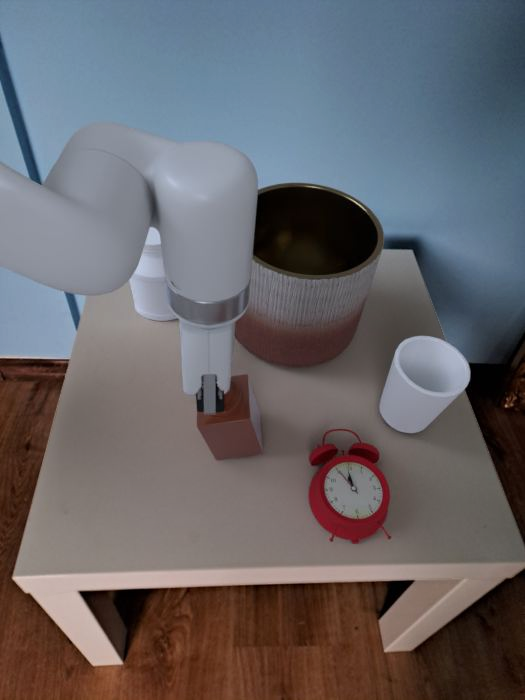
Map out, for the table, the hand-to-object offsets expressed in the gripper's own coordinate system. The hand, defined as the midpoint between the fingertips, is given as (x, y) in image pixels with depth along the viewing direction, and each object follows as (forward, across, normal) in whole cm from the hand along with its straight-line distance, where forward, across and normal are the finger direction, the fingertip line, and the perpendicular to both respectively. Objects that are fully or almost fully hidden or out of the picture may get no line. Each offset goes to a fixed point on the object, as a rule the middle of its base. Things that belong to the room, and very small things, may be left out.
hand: (210, 394), depth 56 cm
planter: (+12, -22, +14) cm, 28 cm away
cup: (+11, -3, +29) cm, 31 cm away
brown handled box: (+11, -1, +4) cm, 12 cm away
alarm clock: (+12, +8, +18) cm, 23 cm away
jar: (+12, -28, -8) cm, 31 cm away
